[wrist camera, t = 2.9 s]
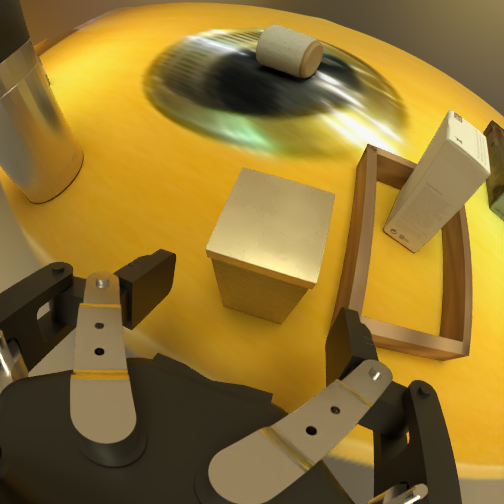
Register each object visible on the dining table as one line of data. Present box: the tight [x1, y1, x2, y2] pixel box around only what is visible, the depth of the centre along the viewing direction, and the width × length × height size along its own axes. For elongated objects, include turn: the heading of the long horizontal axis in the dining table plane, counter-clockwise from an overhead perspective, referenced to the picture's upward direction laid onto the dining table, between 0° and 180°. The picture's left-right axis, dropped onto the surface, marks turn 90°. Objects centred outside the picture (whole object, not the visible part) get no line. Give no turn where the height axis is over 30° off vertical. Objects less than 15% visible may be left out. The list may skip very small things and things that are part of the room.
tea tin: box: [206, 168, 335, 324], centre depth 16 cm, size 5×5×10 cm
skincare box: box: [384, 110, 490, 252], centre depth 19 cm, size 6×4×12 cm
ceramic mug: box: [256, 25, 323, 78], centre depth 33 cm, size 11×8×8 cm
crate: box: [329, 144, 472, 361], centre depth 21 cm, size 12×18×4 cm, turn 162°
